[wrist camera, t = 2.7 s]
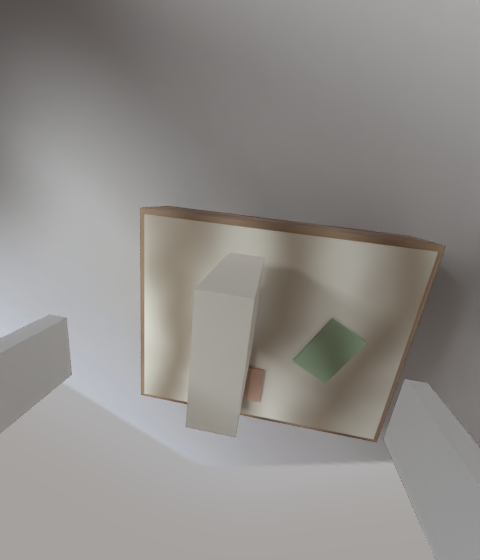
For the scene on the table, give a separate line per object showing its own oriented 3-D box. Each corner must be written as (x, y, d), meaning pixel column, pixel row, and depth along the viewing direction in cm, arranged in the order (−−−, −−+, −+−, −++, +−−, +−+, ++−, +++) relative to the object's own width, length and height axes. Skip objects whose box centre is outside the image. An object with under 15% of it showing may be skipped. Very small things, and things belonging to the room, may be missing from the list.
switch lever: (217, 399, 22) (179, 523, 13) (233, 247, 18) (194, 289, 10) (244, 404, 22) (222, 534, 13) (266, 251, 18) (254, 298, 9)
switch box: (163, 362, 28) (138, 397, 23) (167, 206, 23) (137, 207, 18) (359, 399, 26) (378, 446, 21) (409, 235, 21) (449, 247, 16)
